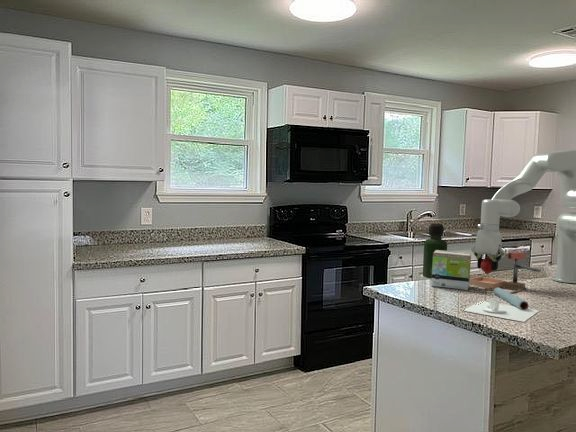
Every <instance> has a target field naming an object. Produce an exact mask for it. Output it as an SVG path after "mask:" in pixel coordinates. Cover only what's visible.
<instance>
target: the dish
mask: <svg viewBox="0 0 576 432" xmlns="http://www.w3.org/2000/svg"><path fill="white" fill-rule="evenodd" d="M505 282H508V280H505V279H504V280H503V279H499V278H493V277H486V276H481V275H480V276H476V277H470V279H469V286H477V287H480V288H481V287H482V288H488V287H492V289H493V290H494V289H495V288H500V287H499V286H503V287H504V285H505Z"/></svg>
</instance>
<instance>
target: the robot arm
mask: <svg viewBox="0 0 576 432" xmlns="http://www.w3.org/2000/svg"><path fill="white" fill-rule="evenodd" d="M546 173H557V175H558V176H559V182H560V187H559V188H560V190H559V194H560V195H559V196H560V205H561V206H562V207H563V208H565V209H568V210H569V209H571V210H576V149H566V150H564V149H563V150H554V151H550V152H539V153H535V154H534V155H532V156H531V157H530V159H529V160H528V161H527V163H526V164H525V165H524V166H523V168H522V169H521V170H520V172H519V173H518V175H517V176H516V177H515V178H513V179H512V180H510V181H509V182H507V183H506V184H505V185H502V186H501V188H500V189H498V191H496V192H495V194H494V195H493V197H492V198H491V199H489V198H488V199H482V201H481V209H480V211H481V212H480V224H477V228H479V230H478V231H477V234H476V239H475V245H474V247H472V248H471V250H470V251H471V253H473V255H474V257H475V258H476V260H477V261H476V262H477V265H476V266H477V269H481V266H480V265H481V262H482V261H483V260H484V258H483V257H484V255H487V256H489V255H490V256H492V260H493V262H492V272H493V271H498V268H499V262H500V260H502V259H503V258H504V257H506V256H507V253H506V252H505V251H504V250H503V248H502V234H501V231H500V222H501V221H500V217H505V218H512V217H515V216H517V215H518V214H520V211H521V205H520V204H519V203H518V202H517V201H516V200H513V199H514V198H516V197H517V196H519V195H521V194H525V193H527V192H529V191H531V190H533V189H534V188H535V187H536V186H537V185H538V182H539V181H541V179H542V177H543V176H544V175H545V174H546ZM539 183H540V182H539ZM556 226H557V227H556V229H557V235H558V236H557V237H558V239H557V241H558V242H557V254H556V269H555V275H553V276H552V277H551V280H553V281H555V282H561V283H568V284H576V211H566V212H562V213H561V214H560V215H559V216H558V217H557V220H556Z"/></svg>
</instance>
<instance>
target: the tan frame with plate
mask: <svg viewBox="0 0 576 432" xmlns="http://www.w3.org/2000/svg"><path fill="white" fill-rule="evenodd" d="M483 288H484V289H483V290H485V291H490V292H494V289H492V287H488V288H485V287H483ZM499 288H501V289H507V290H511V291H508V292H509V293H511V294H513V295H514V294H515V293H520V292H522V291H523V290H522V289H526V282H519V281H517V283H514V282H513V280H509V281H507V282H505V285H504V286H499Z"/></svg>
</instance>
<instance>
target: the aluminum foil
mask: <svg viewBox="0 0 576 432" xmlns="http://www.w3.org/2000/svg"><path fill="white" fill-rule="evenodd" d="M493 290H494V291H493V294H494V296H497V297H498V298H500V299H502V300H503V301H505V302H507V303H508V304H510V305H511V306H516V307H517V308H519V309H521V310H526V309H529V305H530V304H529V303H528V301H526V300H525V299H522V298H520V297H518V295H517V296H516V295H515V294H514V293H513V294H511V293H509V292H510V291H507V290H504V288H500V287H499V288H494V289H493Z"/></svg>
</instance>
